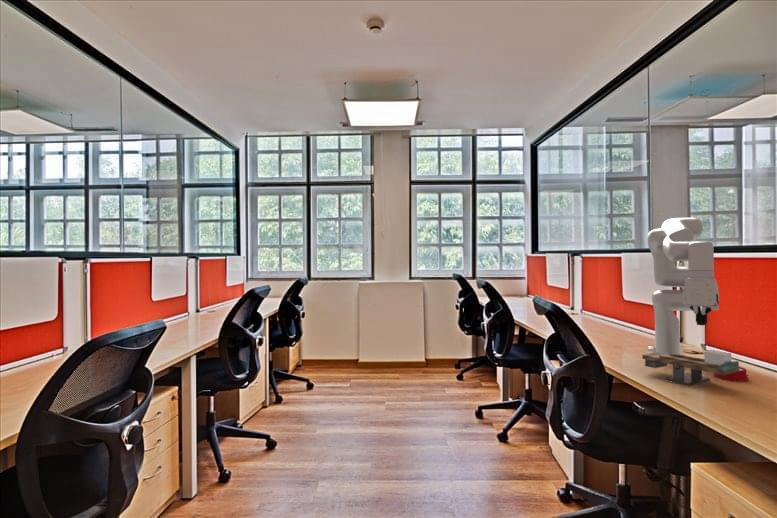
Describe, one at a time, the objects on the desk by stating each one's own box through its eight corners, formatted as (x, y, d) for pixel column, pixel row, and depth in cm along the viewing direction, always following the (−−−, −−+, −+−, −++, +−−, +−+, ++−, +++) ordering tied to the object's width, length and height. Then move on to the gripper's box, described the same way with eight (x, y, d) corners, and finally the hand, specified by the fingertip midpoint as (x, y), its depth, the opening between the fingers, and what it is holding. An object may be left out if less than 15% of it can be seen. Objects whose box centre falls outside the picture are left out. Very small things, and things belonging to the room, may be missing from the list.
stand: (665, 380, 159) (664, 362, 159) (687, 375, 166) (686, 357, 166) (688, 386, 152) (688, 367, 152) (710, 380, 159) (710, 361, 159)
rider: (704, 365, 151) (704, 351, 151) (712, 363, 154) (711, 350, 154) (724, 369, 146) (724, 354, 146) (731, 367, 148) (731, 353, 148)
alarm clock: (719, 371, 158) (707, 354, 171) (718, 386, 159) (706, 368, 173) (754, 374, 154) (739, 356, 167) (753, 389, 155) (738, 371, 169)
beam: (642, 366, 169) (642, 349, 169) (657, 363, 173) (656, 347, 173) (724, 383, 144) (724, 365, 144) (738, 379, 149) (738, 361, 149)
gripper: (673, 274, 159) (674, 323, 159) (719, 276, 146) (719, 328, 146) (684, 274, 163) (684, 321, 163) (730, 275, 150) (730, 326, 150)
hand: (701, 324), depth 155 cm, fingers closed
